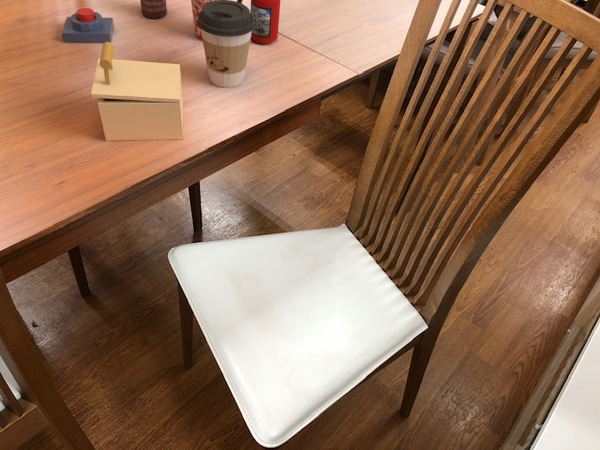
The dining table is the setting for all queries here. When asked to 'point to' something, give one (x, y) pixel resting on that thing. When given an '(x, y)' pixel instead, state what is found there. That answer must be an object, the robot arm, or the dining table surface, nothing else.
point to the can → (154, 8)
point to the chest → (141, 119)
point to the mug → (197, 3)
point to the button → (85, 14)
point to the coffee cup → (226, 40)
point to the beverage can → (265, 20)
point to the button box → (88, 30)
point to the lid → (135, 79)
